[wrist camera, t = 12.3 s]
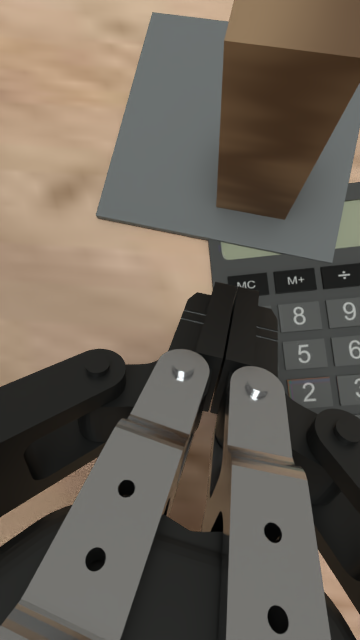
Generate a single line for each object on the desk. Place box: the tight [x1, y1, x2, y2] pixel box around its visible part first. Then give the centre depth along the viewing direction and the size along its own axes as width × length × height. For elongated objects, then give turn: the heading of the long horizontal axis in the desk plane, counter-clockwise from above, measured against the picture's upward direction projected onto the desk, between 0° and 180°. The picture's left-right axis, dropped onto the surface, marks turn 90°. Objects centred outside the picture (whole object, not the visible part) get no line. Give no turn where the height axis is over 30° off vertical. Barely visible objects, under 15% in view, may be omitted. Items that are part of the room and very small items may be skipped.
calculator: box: [208, 182, 360, 419], centre depth 18 cm, size 12×1×15 cm
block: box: [216, 0, 360, 220], centre depth 14 cm, size 4×4×10 cm
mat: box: [96, 12, 360, 263], centre depth 20 cm, size 14×14×1 cm
